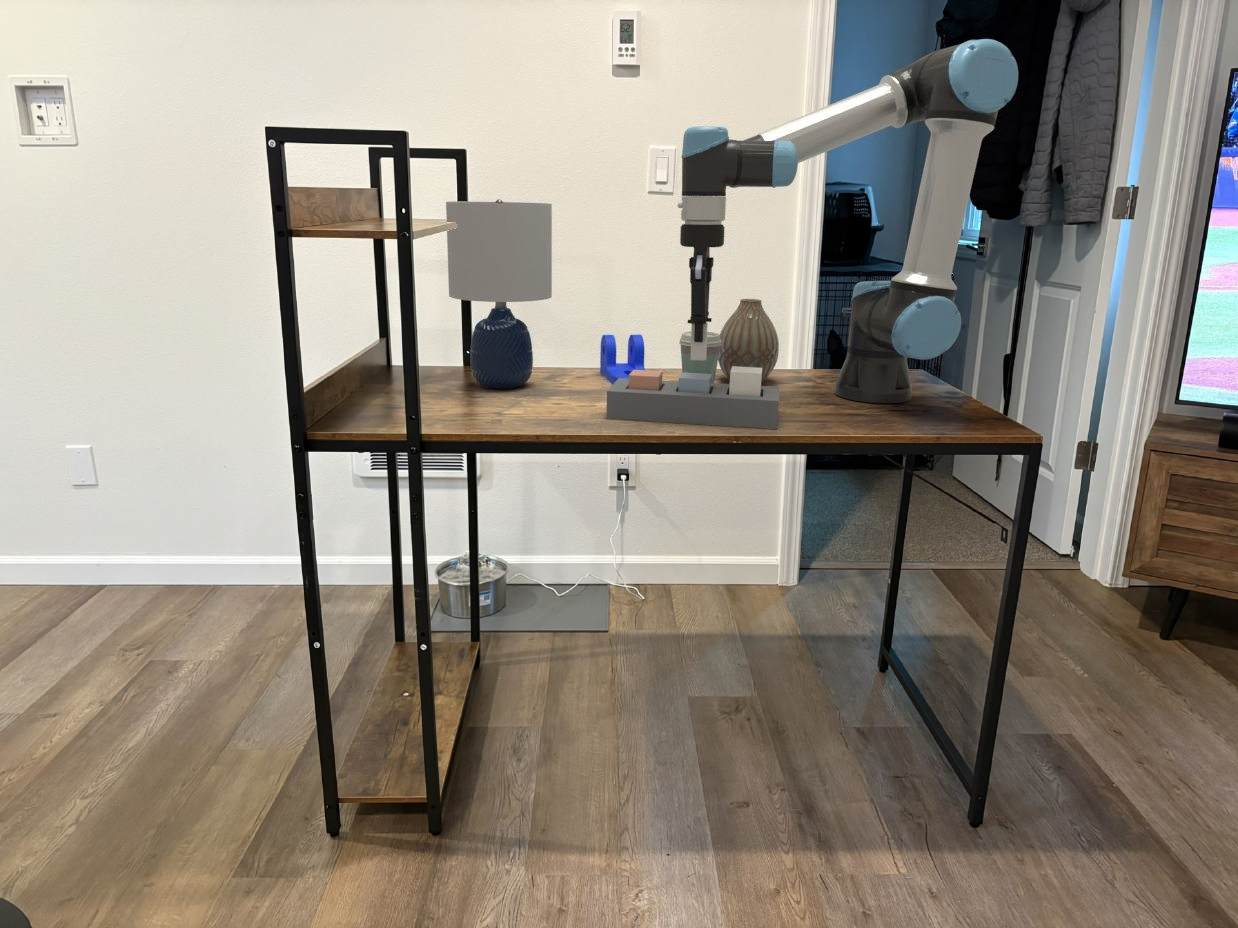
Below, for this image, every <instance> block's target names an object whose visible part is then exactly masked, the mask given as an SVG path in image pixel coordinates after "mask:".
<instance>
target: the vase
mask: <svg viewBox="0 0 1238 928" xmlns="http://www.w3.org/2000/svg"><path fill="white" fill-rule="evenodd" d="M762 303H763V302H762V300H761V299H757V298H741V299H740V301H739V304H738V306H737V308H736V309H735V310H734V312H733V313H732V314H731V315H730V317H728V319H727V320H726V322H725V323H724V325H723V327H722V329H721V331H720V333H719V335H720V339H721V341H722V342H721V344H722V345H721V346H720V351H719V357H718V365H719V367H720V370H721V371H722V373H723V374H724V375H725V376H726V378H727V379H729V380H730V371H731V368H732V366H737V367H756V368H762V379H761V383H762V382H763V381H764V380H766V378H768V377H769V376H770V375H771V374H772V372H773V371H774V368H775V367H776V364H777V362H778V359H779V352H780V351H779V349H780V342H779V336H778V333H777V330H776V328H775V326H774V324H773V322H772V320H771V319H770V317H769V315H768V314H767V313H766V311H765V309H764V307H763V305H762Z"/></svg>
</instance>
